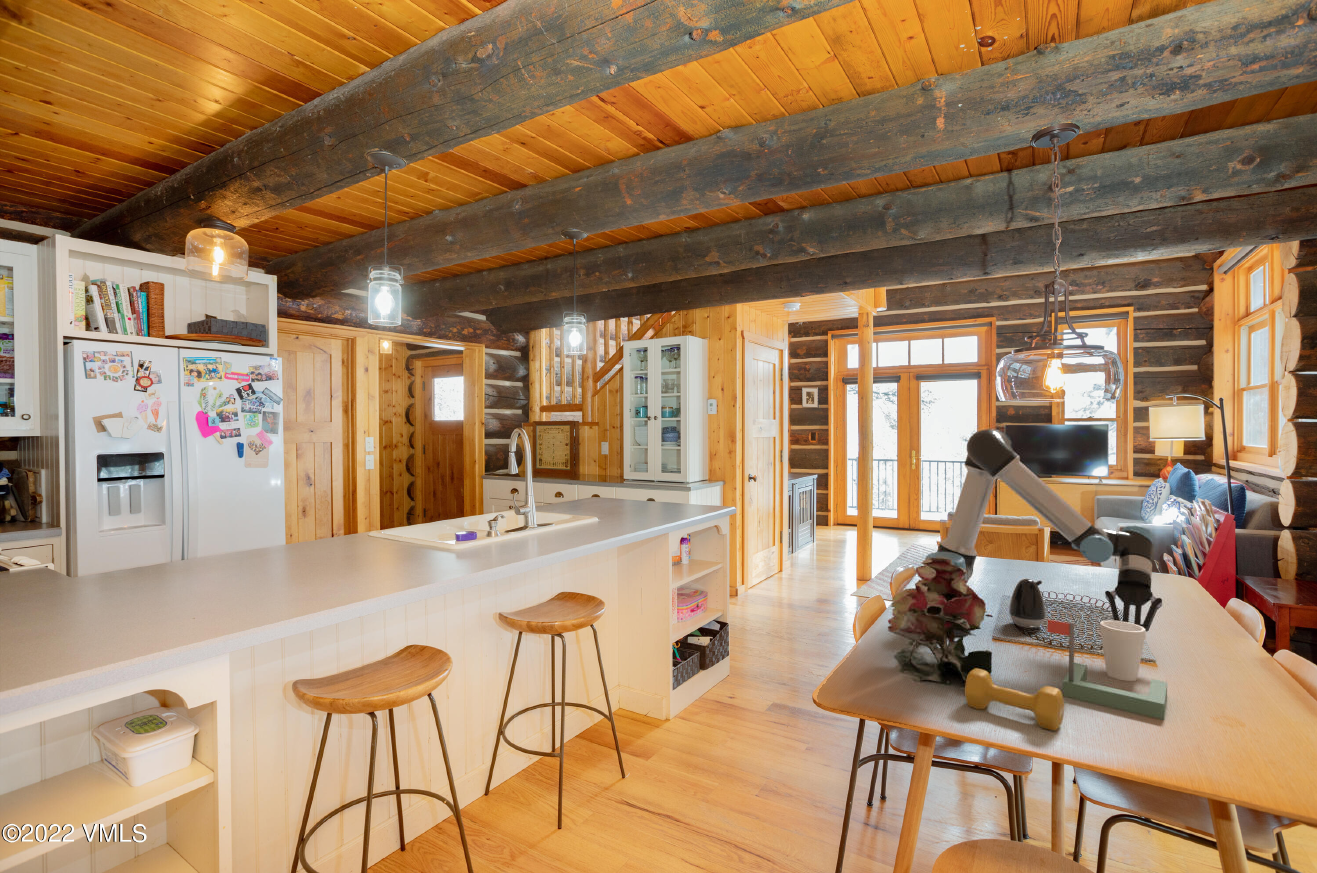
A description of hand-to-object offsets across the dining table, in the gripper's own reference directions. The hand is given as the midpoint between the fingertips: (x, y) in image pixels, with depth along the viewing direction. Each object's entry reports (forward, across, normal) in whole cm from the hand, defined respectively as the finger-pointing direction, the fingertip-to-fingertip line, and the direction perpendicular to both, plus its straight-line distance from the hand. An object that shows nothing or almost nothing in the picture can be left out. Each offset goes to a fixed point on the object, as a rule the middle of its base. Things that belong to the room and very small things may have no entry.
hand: (1129, 651), depth 167 cm
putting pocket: (+19, +3, +12) cm, 22 cm away
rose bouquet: (+25, +39, +19) cm, 50 cm away
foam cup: (+8, +1, +1) cm, 8 cm away
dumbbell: (+38, +18, +31) cm, 52 cm away
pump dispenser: (-13, +28, -21) cm, 37 cm away
